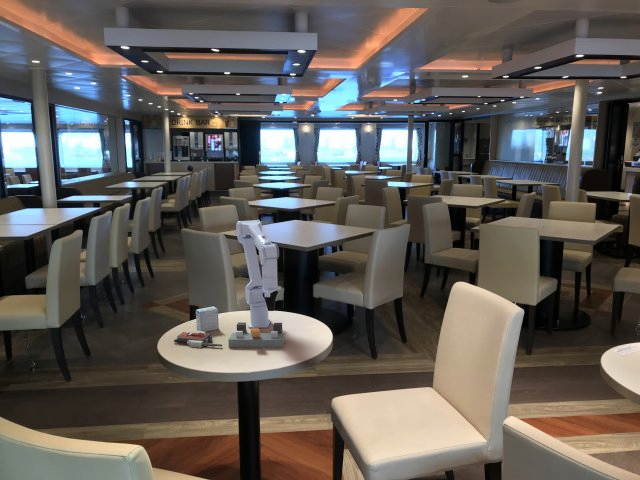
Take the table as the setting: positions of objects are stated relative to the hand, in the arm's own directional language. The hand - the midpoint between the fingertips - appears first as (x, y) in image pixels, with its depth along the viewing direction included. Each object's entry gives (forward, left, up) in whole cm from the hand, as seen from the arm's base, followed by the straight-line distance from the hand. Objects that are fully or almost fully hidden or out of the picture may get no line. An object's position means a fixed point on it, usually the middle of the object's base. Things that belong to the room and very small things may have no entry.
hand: (270, 310), depth 200 cm
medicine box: (-7, -27, -11) cm, 30 cm away
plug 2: (0, +3, -10) cm, 11 cm away
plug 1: (0, -11, -10) cm, 15 cm away
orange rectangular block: (+9, -4, -7) cm, 12 cm away
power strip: (+8, -4, -10) cm, 14 cm away
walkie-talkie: (+8, -26, -11) cm, 29 cm away
